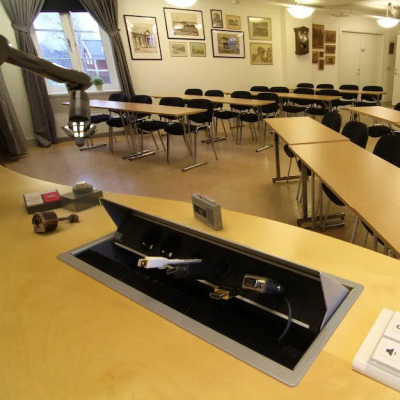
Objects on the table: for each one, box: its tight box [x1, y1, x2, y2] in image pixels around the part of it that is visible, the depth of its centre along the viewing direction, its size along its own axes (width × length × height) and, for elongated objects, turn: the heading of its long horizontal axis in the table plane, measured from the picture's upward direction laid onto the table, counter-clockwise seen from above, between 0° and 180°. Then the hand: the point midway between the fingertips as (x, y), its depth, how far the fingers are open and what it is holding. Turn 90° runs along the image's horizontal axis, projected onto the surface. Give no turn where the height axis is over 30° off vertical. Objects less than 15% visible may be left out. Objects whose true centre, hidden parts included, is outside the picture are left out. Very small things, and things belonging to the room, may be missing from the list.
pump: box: [75, 180, 88, 188], centre depth 127 cm, size 4×4×2 cm
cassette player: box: [190, 192, 224, 232], centre depth 113 cm, size 16×3×10 cm, turn 46°
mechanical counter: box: [31, 210, 80, 233], centre depth 109 cm, size 7×13×10 cm
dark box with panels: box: [22, 188, 63, 215], centre depth 127 cm, size 11×4×15 cm
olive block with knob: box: [59, 183, 105, 214], centre depth 127 cm, size 11×9×8 cm
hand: (80, 146), depth 132 cm, fingers closed
